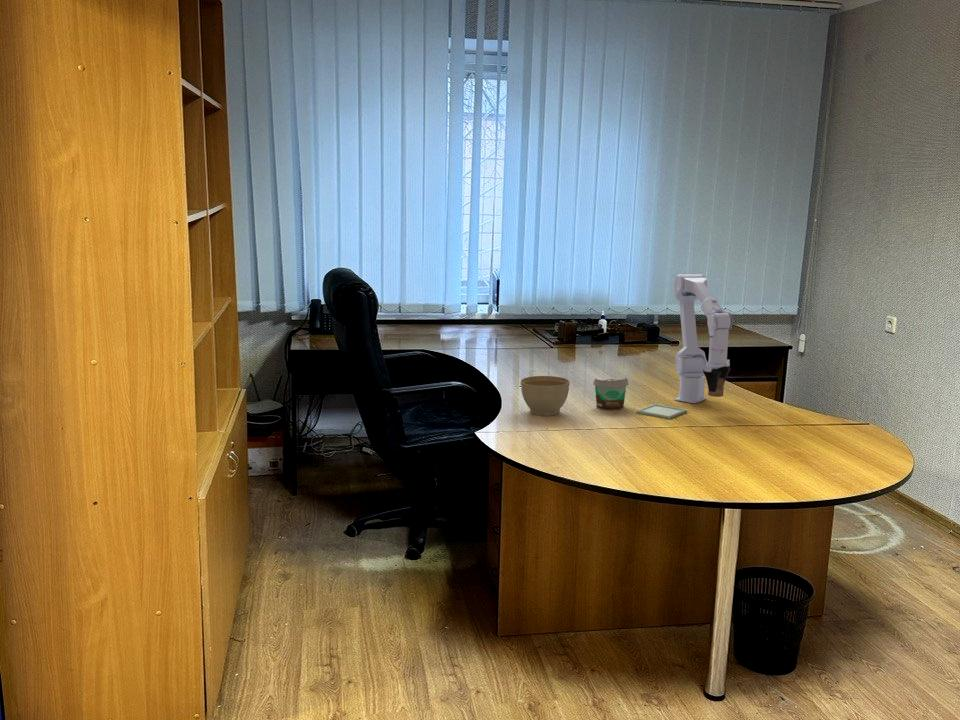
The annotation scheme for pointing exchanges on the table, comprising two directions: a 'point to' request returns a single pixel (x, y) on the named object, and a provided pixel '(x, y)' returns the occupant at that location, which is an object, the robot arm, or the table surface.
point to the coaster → (661, 411)
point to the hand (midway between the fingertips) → (715, 390)
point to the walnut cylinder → (718, 389)
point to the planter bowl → (545, 394)
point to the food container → (610, 393)
